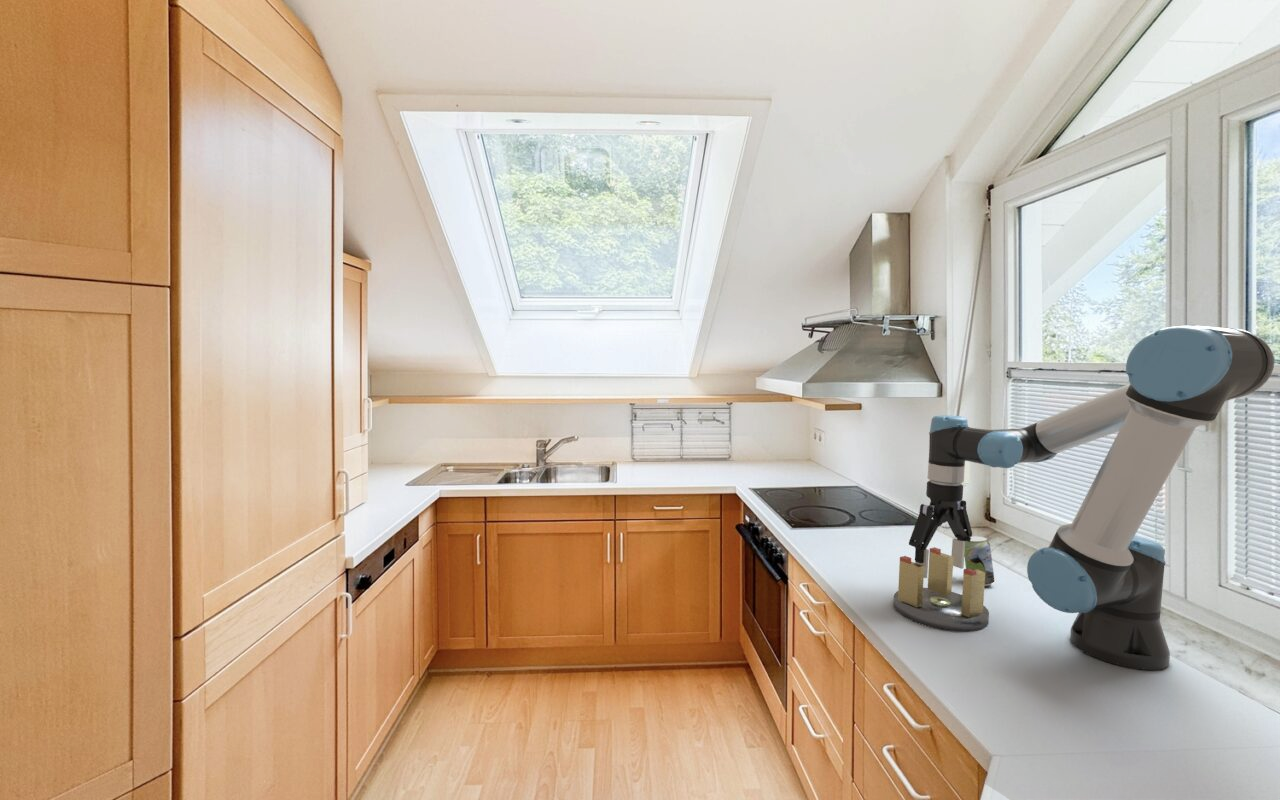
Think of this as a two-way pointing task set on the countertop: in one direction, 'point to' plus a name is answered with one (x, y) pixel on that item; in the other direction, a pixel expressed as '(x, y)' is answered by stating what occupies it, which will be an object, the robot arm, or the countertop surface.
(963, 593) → the knob
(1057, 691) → the countertop surface
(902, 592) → the knob
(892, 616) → the countertop surface
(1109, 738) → the countertop surface
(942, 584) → the knob
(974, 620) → the tribrach plate
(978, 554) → the beverage can
